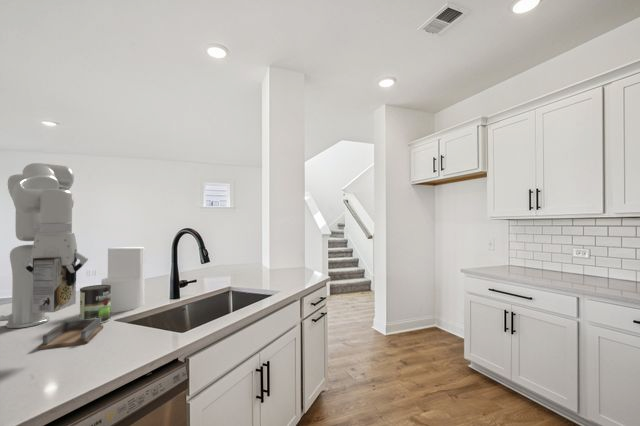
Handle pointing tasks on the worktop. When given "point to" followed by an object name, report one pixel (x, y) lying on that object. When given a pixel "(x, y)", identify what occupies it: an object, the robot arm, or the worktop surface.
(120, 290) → the tall white block
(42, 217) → the robot arm
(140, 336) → the worktop surface
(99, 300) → the coffee can
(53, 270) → the coffee box
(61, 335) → the dock
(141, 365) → the worktop surface
